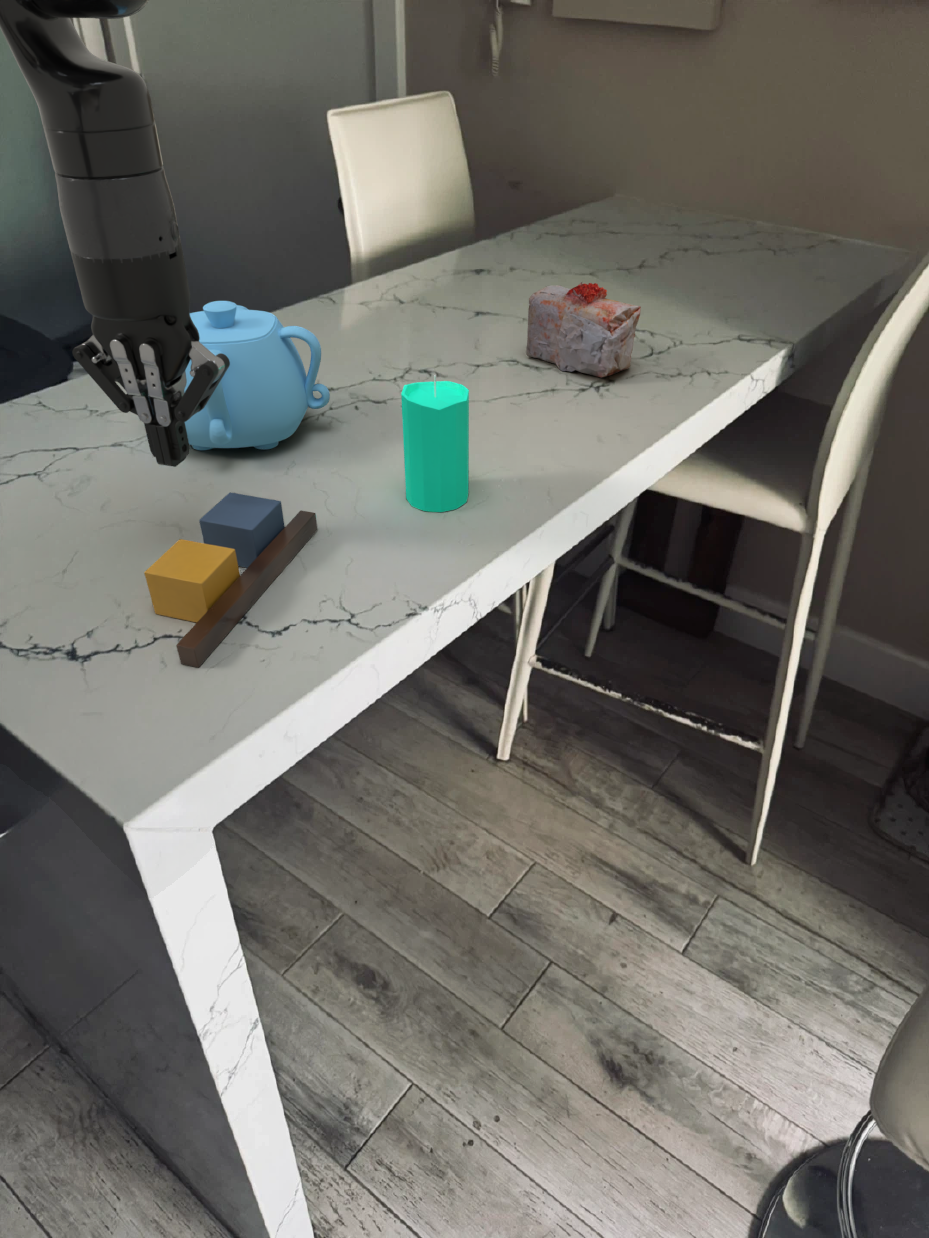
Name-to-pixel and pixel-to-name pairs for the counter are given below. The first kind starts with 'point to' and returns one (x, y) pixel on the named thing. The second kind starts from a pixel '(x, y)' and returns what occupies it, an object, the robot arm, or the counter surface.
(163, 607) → the ochre block
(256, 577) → the straightedge
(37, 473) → the counter surface
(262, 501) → the slate block
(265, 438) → the decorative pot
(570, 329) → the food item
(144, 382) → the robot arm
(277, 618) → the counter surface
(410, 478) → the candle
